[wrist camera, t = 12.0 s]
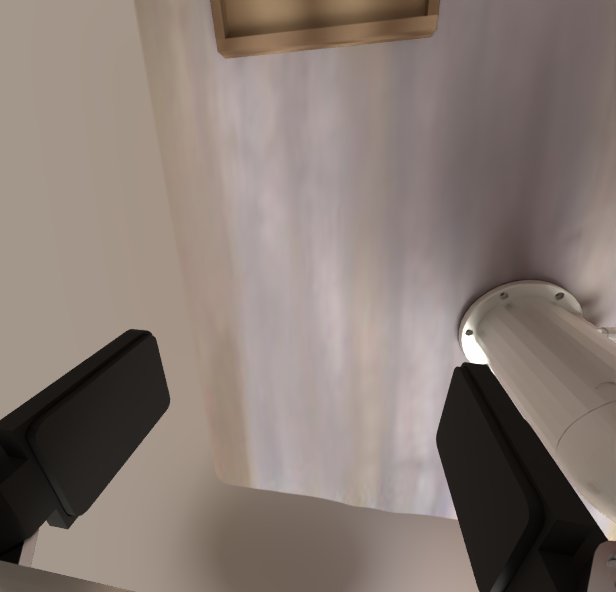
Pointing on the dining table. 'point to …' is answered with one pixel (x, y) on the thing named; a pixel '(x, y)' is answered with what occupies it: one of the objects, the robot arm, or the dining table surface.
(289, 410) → the dining table surface
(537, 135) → the dining table surface
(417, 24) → the walnut tray
